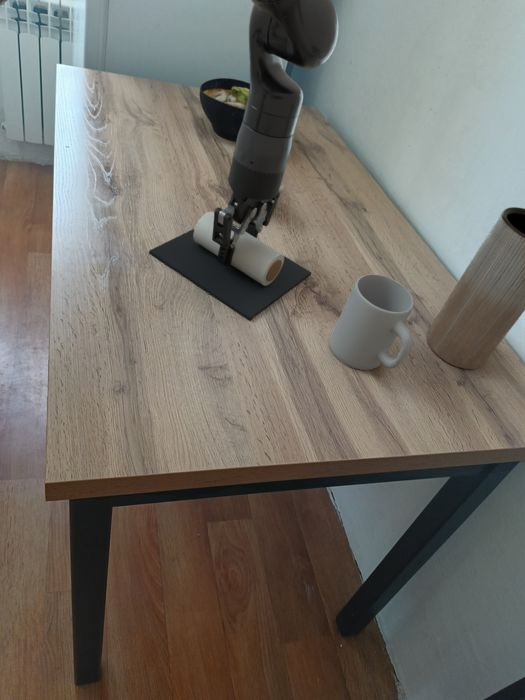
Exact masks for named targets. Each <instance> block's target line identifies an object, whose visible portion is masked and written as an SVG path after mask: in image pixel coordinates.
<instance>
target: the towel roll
mask: <svg viewBox="0 0 525 700" xmlns="http://www.w3.org/2000/svg"><path fill="white" fill-rule="evenodd" d="M214 212H215V211H211V210H210V211H207V212H205V213H204V214H203V215H202V216H201V217H200V218H199V220H198V221H197V223H196V225H195V226H194V228H193V229H194V234H193V238H194V241H195V242H196V243H198V244H200V245H201V246H203V247H204V248H206V249H207V250H209V251H210V252H212V253H214V254H215V255H217V256H218V253H219V248H220V245H219V244H217V243H216V242H214V241H213V240H212V235H213V223H214ZM233 235H234V232H233V231H232V230H231V239H232V237H233ZM284 256H285V255H284V254H283V253H281V252H280V251H278V250H276V249H275V248H273V247H271V246H270V245H268V244H267V243H265V242H263V241H262V240H260V239H259V238H258V237H257V238H255V237H253V236H252V235H250V234H249V233H247V232H245V233H244V234H243V235H240V236H239V239H238V241H237V243H236V245H235V250H234V253H233V257H232V261H231V265H232V266H234V267H235V268H237V269H239V270H240V271H242V272H243V273H245V274H246V275H248V276H250V277H251V278H253V279H254V280H256V281H257V282H259V283H260V284H262V285H264V286H267V285H269V284H270V283H271V282H272V281H273V280H274V279H275V278H276V276H277V275H278V273H279V272H280V270H281V268H282V265H283V262H284Z"/></svg>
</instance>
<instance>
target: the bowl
mask: <svg viewBox="0 0 525 700" xmlns="http://www.w3.org/2000/svg"><path fill="white" fill-rule="evenodd" d="M249 91H250V82H247V81H244V80H241V79H236V78H230V77H229V78H227V77H218V78H212V79H209V80H206V81H204V82H203V83H202V84H201V85H200V87H199V95H198V96H199V101H200V105H201V108H202V111H203V112H204V115H205V116H206V118H207V120H208V121H209V122H210V123H211V127H212V131H213V132H214V133H215V134H216V135H217V136H219V137H220V138H224V139H226V140H229V141H235V142H236V141H237V136H238V133H239V130H240V128H241V125H242V122H243V118H244V113H245V109H246V104H247V100H248V95H249Z"/></svg>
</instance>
